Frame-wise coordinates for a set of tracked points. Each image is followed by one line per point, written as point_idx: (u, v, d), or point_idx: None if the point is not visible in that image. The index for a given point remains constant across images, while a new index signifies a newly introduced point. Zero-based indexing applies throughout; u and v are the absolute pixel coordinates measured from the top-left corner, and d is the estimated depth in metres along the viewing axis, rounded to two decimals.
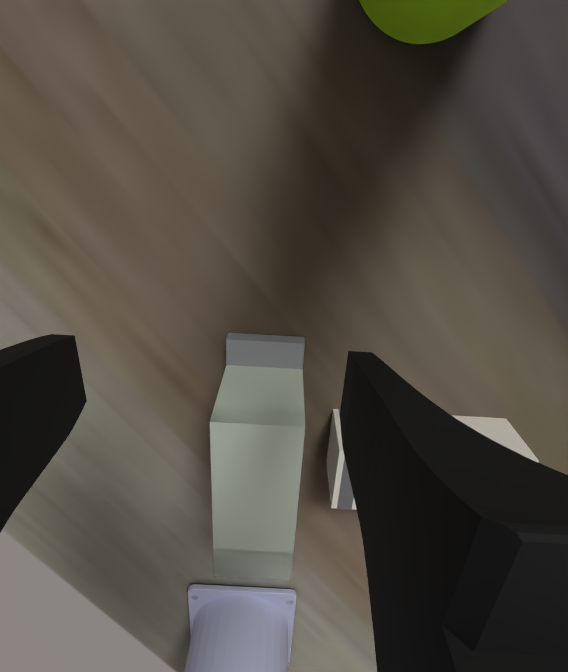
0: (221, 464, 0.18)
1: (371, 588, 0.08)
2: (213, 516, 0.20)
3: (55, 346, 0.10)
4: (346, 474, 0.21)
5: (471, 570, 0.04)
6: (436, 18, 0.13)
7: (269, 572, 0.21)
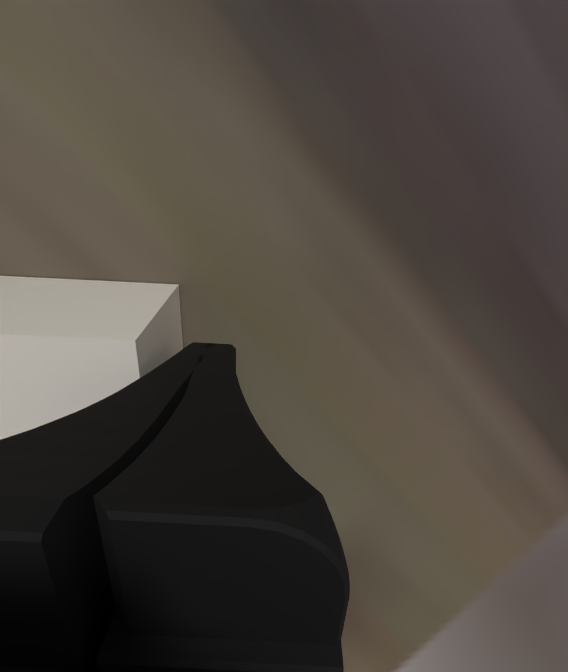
0: None
1: None
2: None
3: None
4: None
5: (106, 551, 0.04)
6: None
7: None
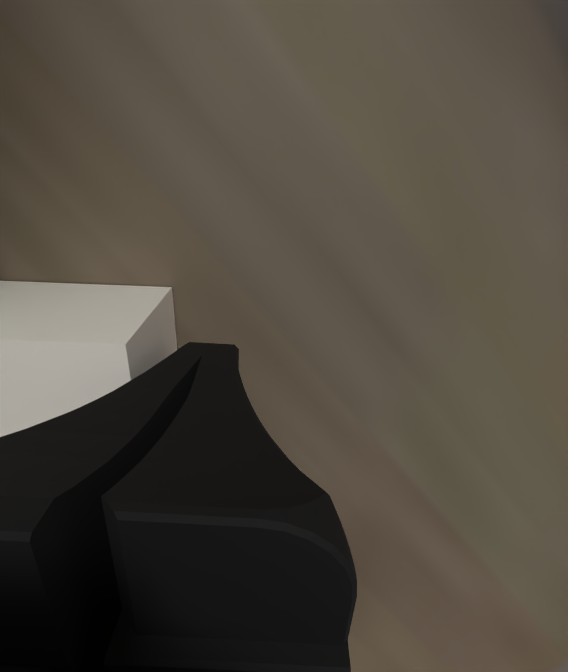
0: None
1: None
2: None
3: None
4: None
5: (114, 551, 0.04)
6: None
7: None
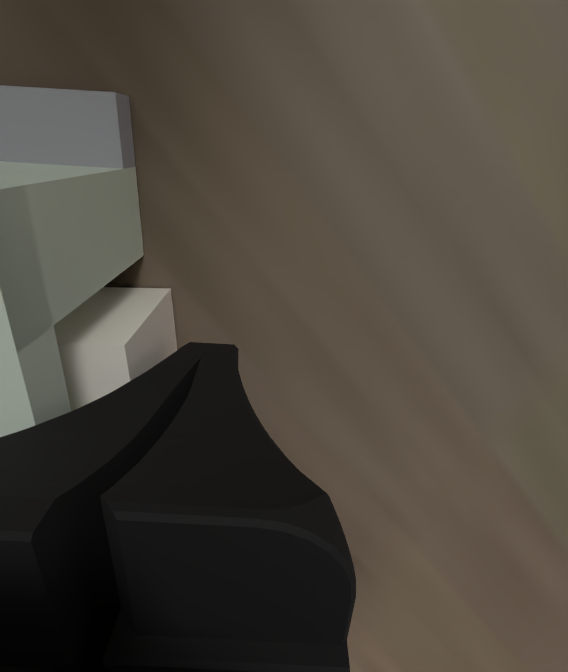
0: None
1: None
2: None
3: None
4: None
5: (112, 552, 0.04)
6: None
7: None
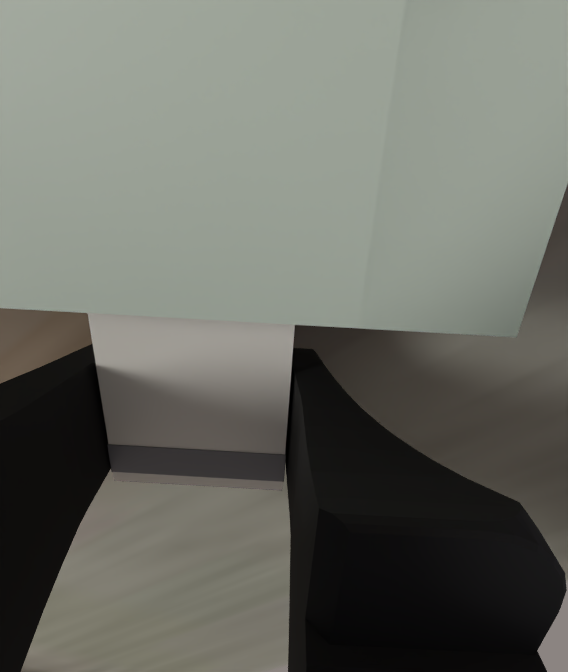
0: None
1: (290, 583, 0.08)
2: (193, 315, 0.06)
3: None
4: (179, 467, 0.10)
5: (318, 562, 0.04)
6: None
7: (539, 94, 0.04)
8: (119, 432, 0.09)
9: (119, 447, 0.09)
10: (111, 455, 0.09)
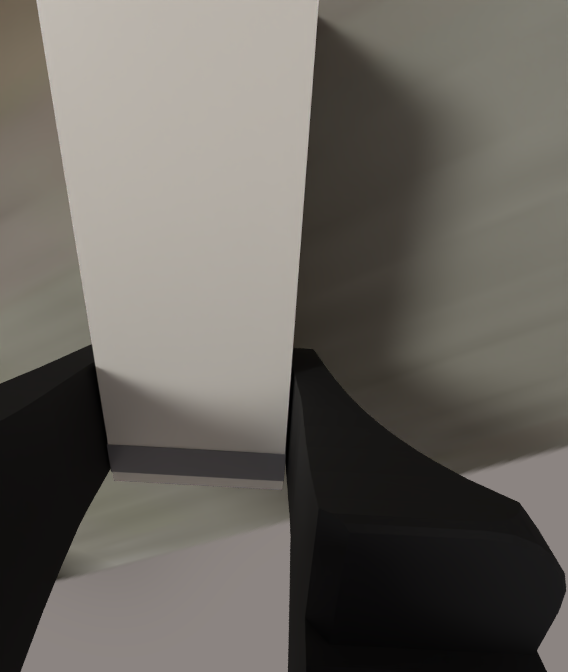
0: None
1: (290, 584, 0.08)
2: None
3: None
4: (179, 467, 0.10)
5: (317, 563, 0.04)
6: None
7: None
8: (119, 432, 0.09)
9: (119, 447, 0.09)
10: (111, 455, 0.09)
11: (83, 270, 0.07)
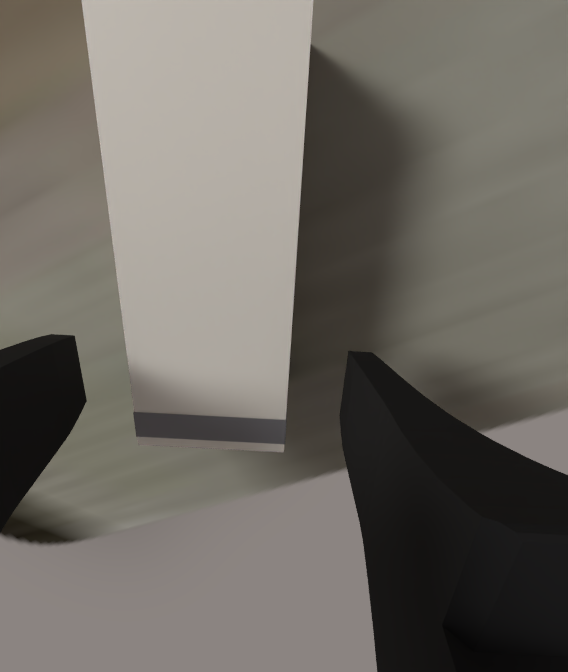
0: None
1: (371, 588, 0.08)
2: None
3: (55, 346, 0.10)
4: (195, 432, 0.11)
5: (470, 571, 0.04)
6: None
7: None
8: (144, 401, 0.11)
9: (143, 414, 0.11)
10: (136, 422, 0.11)
11: (118, 261, 0.09)
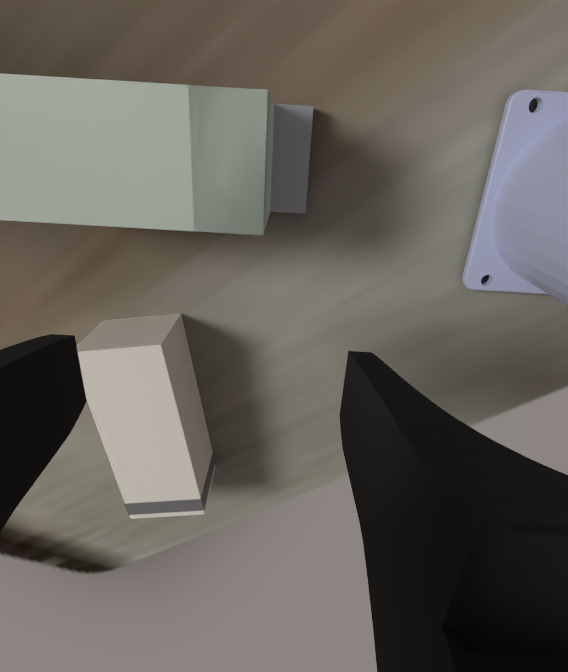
0: (16, 205, 0.13)
1: (371, 588, 0.08)
2: (122, 225, 0.13)
3: (55, 346, 0.10)
4: (157, 509, 0.21)
5: (471, 570, 0.04)
6: None
7: (245, 133, 0.12)
8: (128, 498, 0.21)
9: (129, 504, 0.21)
10: (127, 508, 0.21)
11: (103, 442, 0.20)
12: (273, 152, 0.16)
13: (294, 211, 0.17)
